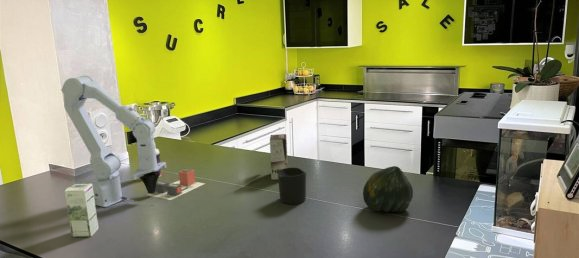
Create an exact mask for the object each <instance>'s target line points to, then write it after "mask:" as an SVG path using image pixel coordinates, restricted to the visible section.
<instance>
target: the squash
mask: <svg viewBox="0 0 579 258" xmlns="http://www.w3.org/2000/svg"><path fill="white" fill-rule="evenodd" d="M413 192H414V189H413V186H412V183H411V182H410V181H409V179H408V177H407V176H406V174H405V173H404V172H403V170H402V169H401V168H400V167H399V166H398V165H397V166H396V165H395V166H389V167H385V168H383V169H380V170H378V171H376V172H374V173H372V174H371V175H370V177H368V179H367V181H366V182H365V184H364V186H363V192H362V196H363V201H364V204H365V205H366V206H367V207H368V208H370V209H372V210H374V211H375V212H382V211H383V212H386V213H388V212H391V213H394V212H397V213H401V212H405V211H406V210H407V209H408V208H409V206H410V203H411V202H412V199H413V197H414V196H413V194H414V193H413Z"/></svg>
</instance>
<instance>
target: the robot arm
mask: <svg viewBox="0 0 579 258" xmlns="http://www.w3.org/2000/svg"><path fill="white" fill-rule="evenodd" d="M60 90H61V92H62V94H63V107H64V110H65V111H66V113H67V114H68V117H69V118H70V120H71V121H72V124H73V126H74V127H75V129H76V131H77V132H78V134H79V136H80V137H81V140H82V141H83V143H84V145H85V146H86V149H87V150H88V152H89V154H90V158H89V164H90V165H91V170H92V174H93V175H94V177H96V179H94V181H92V182H90V184H92V186H93V193H94V200H95V206H99V207H103V208H107V207H110V206H113V205H115V204H117V203H119V202H122V201H125V200H127V199H128V197H125V196H123V192H122V184H121V178H120V172H119V169H120V168H121V167H122V161H121V159H120V158H119V156H117V155H116V154H115V153H114V152H113V150H112V149H111V148H109V147H107V145H106V144H105V142H104V141H103V138H102V137H101V135H100V133H99V132H98V129H97V128H96V126H95V124H94V123H93V120H92V119H91V118H90V115H89V114H88V112H87V110H86V108H85V107H84V106H85V104H86V101H87V100H88V99H93V100H96V101H98V102H99V103H100V104H102V105H103V106H105V107H106V108H107V109H109V110H110V111H112V112H113V113H115V119H116V120H117V121H119V122H120V123H121V124H122V125H124V126H125V127H127V128H128V129H129V130H131V131H132V135H133V136H134V138H135V139H136V144H137V145H136V146H137V155H138V156H139V157H138V165H140V166H139V168H138V169H136V170H134V171H133V172H131V173H129V177H130V180H138V178H139V179H140V180H141V181H142V182H143V183H142V184H144V186H145V189H146V191H147V194H149V193H150V194H153V193H155V188H156V183H157V182H158V180H159V178H160V177H161V176H160V172H157V171H158V170H159V169H161V170H162V169H166V168H167V161H160V163H157V160H156V150H155V148H156V147H155V145H156V142H155V134H154V133H155V131H156V126H155V123H154V122H153V121H152V120H151V119H148V118H146V117H145V116H142V115H140V114H139V113H138V112H137V111H136V110H135V107H133V106H132V105H131V106H129V105H122V104H121V103H120V102H119V101H118V100H117V99H116V98H114V97H113V96H112V95H111V94H110V93H108V91H106V90H105V89H104V88H103V87H102V86H101V85H100V83H98V81H96V80H93V78H92V77H91V76H88V75H81V76H78V77H70V78H67V79H66V80H65V81H64V83H63V84H62V88H61V89H60ZM159 176H160V177H159Z"/></svg>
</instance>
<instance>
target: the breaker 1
mask: <svg viewBox="0 0 579 258" xmlns="http://www.w3.org/2000/svg"><path fill="white" fill-rule="evenodd" d="M169 183H170V182H166V181H157V183H156V188H155V192H159V193H165V192H167V186H168V185H169Z"/></svg>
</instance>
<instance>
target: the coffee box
mask: <svg viewBox="0 0 579 258" xmlns="http://www.w3.org/2000/svg"><path fill="white" fill-rule="evenodd" d="M287 145H288V142H287V134H285V133H283V134H281V133H280V134H278V133H277V134H271V135H270V138H269V150H270V156H269V157H270V174H271V175H270V176H271V177H270V179H271V180H278V171H279V170H281V169H284V168H289V167H288V146H287Z"/></svg>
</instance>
